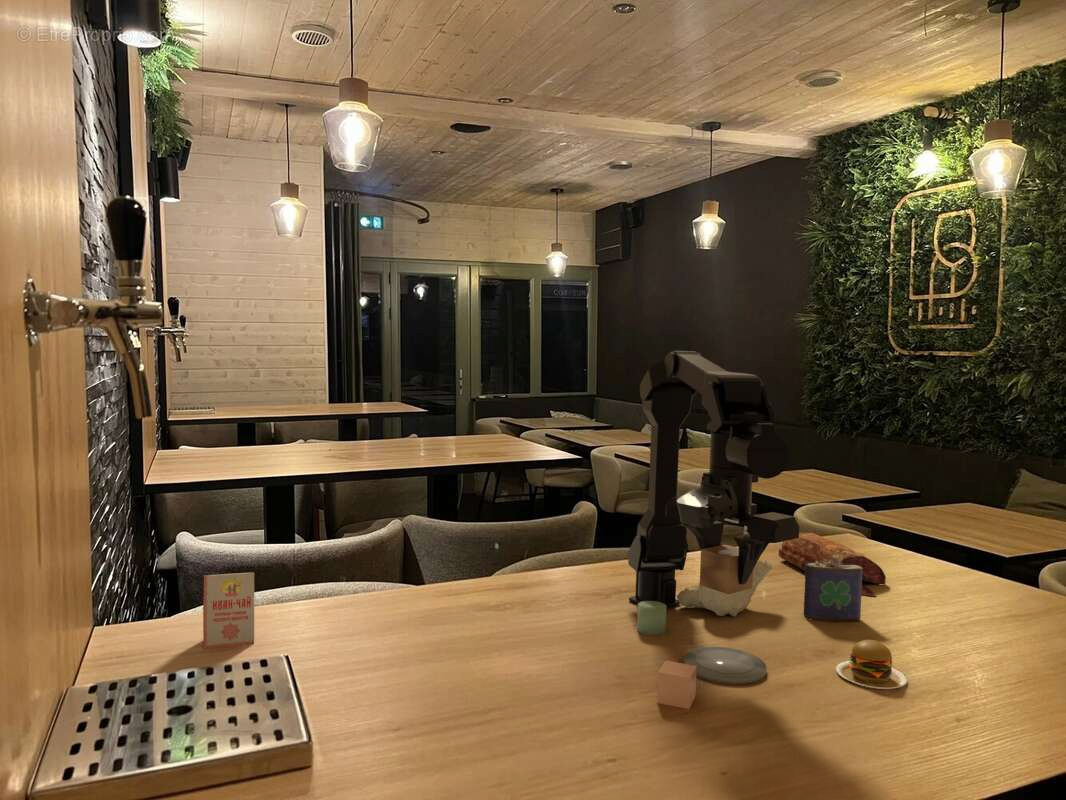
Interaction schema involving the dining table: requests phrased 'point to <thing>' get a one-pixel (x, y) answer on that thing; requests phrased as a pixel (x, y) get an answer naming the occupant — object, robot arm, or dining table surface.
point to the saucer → (726, 665)
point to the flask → (833, 591)
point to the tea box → (228, 610)
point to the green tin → (651, 618)
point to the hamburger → (871, 664)
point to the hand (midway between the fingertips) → (726, 579)
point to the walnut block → (722, 570)
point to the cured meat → (829, 556)
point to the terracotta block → (676, 684)
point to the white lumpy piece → (723, 594)
